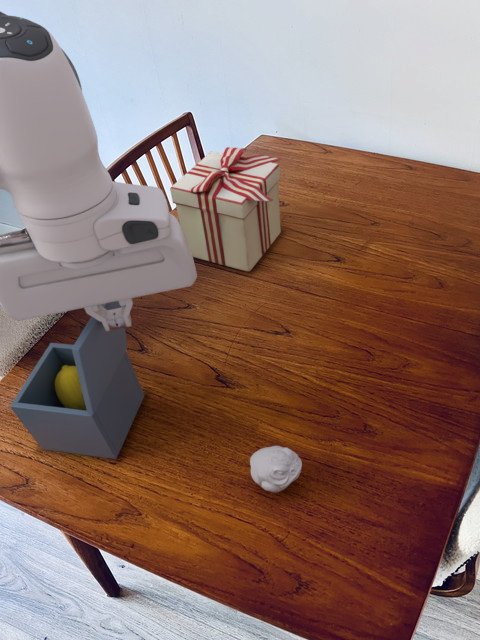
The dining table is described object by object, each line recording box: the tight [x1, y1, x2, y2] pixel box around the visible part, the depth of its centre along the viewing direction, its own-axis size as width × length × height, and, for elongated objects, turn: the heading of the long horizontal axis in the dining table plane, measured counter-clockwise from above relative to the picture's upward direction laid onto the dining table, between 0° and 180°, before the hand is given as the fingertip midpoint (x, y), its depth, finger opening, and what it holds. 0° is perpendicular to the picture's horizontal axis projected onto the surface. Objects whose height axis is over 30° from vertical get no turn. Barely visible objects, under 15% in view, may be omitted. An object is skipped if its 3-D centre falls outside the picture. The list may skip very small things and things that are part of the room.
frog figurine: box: [249, 445, 303, 493], centre depth 66 cm, size 6×7×7 cm
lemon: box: [55, 365, 87, 411], centre depth 75 cm, size 6×6×8 cm
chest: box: [9, 342, 145, 460], centre depth 74 cm, size 12×12×10 cm
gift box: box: [169, 146, 283, 273], centre depth 98 cm, size 17×18×17 cm
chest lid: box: [72, 301, 128, 414], centre depth 64 cm, size 12×12×1 cm
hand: (119, 325), depth 60 cm, fingers closed
